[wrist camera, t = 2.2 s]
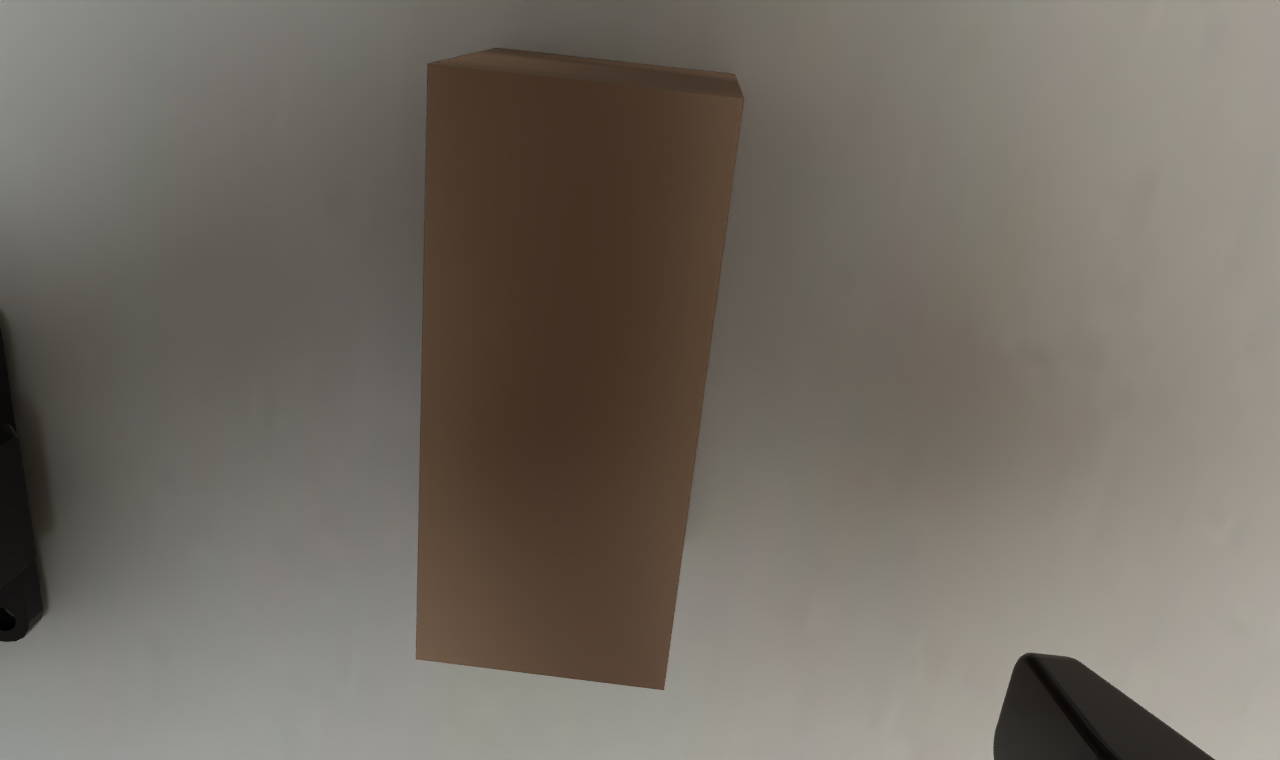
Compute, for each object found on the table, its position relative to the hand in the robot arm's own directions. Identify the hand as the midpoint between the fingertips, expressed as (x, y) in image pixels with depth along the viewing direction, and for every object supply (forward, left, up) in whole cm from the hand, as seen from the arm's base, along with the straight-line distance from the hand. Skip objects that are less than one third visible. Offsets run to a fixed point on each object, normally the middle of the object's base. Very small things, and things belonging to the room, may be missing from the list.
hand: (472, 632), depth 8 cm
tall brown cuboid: (0, 0, -8) cm, 8 cm away
